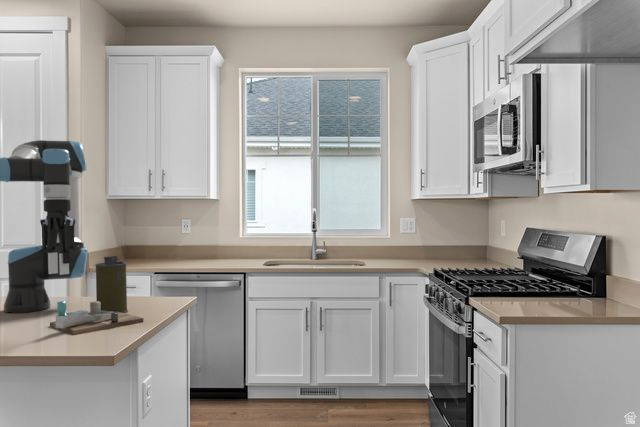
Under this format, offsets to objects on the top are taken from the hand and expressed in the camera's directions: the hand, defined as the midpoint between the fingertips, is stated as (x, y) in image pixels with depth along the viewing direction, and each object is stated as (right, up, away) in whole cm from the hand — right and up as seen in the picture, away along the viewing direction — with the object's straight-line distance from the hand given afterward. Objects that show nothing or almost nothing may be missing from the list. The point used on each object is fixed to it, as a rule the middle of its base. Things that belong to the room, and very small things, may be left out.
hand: (58, 273), depth 165 cm
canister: (+8, -17, +23) cm, 30 cm away
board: (+10, -16, +4) cm, 20 cm away
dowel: (+17, -16, 0) cm, 24 cm away
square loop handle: (+8, -15, 0) cm, 17 cm away
